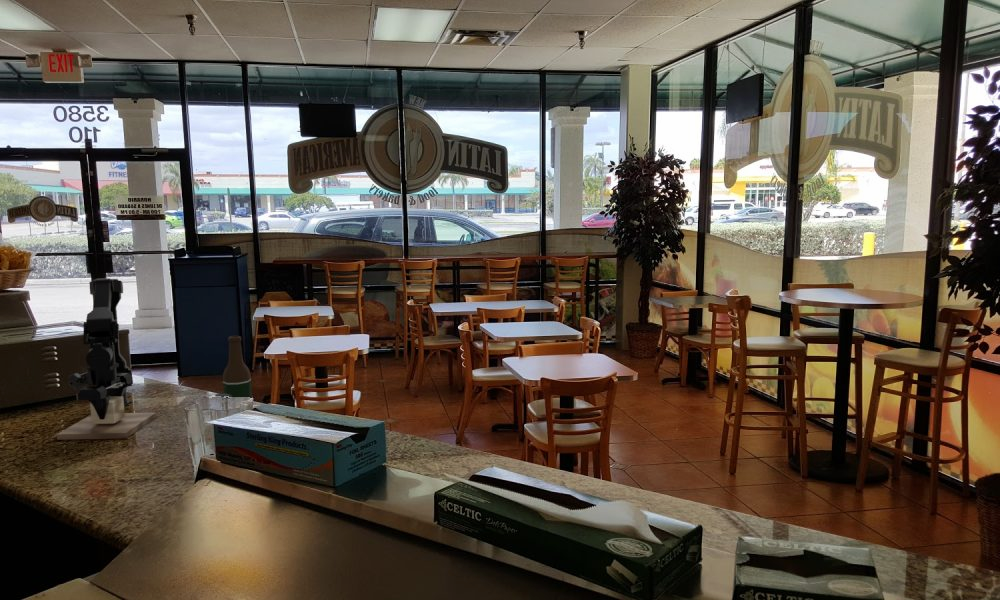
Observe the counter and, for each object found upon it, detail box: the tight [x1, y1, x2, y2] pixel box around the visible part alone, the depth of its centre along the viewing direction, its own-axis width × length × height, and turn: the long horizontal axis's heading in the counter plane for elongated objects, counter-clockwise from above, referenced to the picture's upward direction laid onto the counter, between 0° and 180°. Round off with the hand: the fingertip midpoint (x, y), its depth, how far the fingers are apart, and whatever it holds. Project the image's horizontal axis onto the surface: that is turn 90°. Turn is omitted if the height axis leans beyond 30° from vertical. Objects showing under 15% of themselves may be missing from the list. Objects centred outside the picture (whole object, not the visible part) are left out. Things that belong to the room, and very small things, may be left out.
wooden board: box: [56, 412, 157, 441], centre depth 191 cm, size 18×18×2 cm
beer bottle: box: [222, 335, 253, 399], centre depth 200 cm, size 8×8×24 cm
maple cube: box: [89, 396, 126, 424], centre depth 190 cm, size 6×6×6 cm
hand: (108, 415), depth 191 cm, fingers closed on maple cube, 6 cm apart
